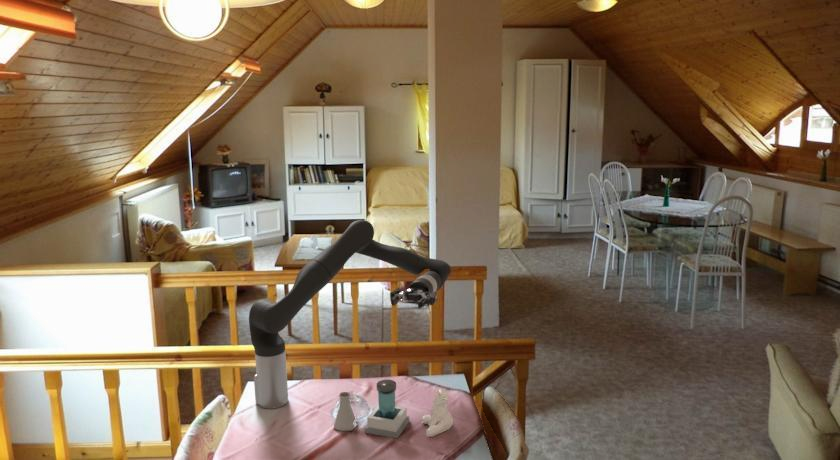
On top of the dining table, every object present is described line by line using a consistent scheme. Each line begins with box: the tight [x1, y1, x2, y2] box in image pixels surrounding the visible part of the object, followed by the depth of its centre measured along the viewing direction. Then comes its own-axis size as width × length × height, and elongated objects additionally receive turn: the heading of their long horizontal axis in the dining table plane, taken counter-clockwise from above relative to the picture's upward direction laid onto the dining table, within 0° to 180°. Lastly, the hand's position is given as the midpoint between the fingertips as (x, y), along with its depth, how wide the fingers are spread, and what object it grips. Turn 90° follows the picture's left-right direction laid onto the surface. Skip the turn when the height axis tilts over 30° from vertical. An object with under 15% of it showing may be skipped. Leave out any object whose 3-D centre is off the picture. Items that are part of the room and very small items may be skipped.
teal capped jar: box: [376, 379, 397, 420], centre depth 182 cm, size 6×6×12 cm
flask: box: [333, 391, 356, 432], centre depth 184 cm, size 7×7×10 cm
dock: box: [364, 403, 410, 439], centre depth 183 cm, size 10×10×4 cm
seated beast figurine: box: [421, 387, 454, 438], centre depth 182 cm, size 10×9×12 cm
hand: (406, 304), depth 193 cm, fingers open, 8 cm apart
